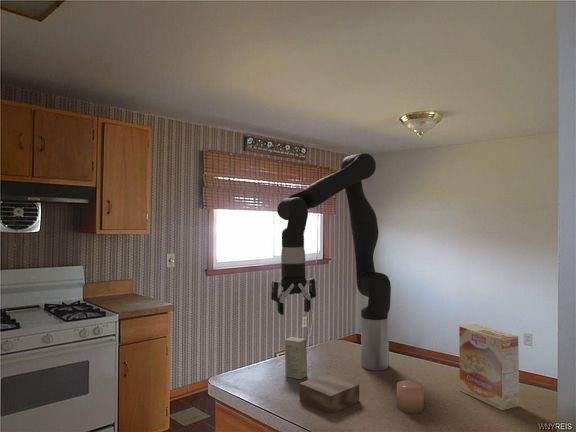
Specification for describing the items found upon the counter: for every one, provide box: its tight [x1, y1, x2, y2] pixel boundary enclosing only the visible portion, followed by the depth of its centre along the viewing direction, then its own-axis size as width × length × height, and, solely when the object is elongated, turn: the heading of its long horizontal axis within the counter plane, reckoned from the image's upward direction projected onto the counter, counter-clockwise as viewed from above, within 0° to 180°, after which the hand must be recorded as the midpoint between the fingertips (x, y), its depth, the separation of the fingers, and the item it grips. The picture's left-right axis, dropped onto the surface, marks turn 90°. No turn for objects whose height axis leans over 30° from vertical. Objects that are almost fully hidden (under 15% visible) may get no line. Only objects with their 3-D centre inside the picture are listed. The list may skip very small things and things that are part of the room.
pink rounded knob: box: [396, 380, 425, 414], centre depth 113 cm, size 7×7×6 cm
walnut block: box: [298, 372, 360, 415], centre depth 117 cm, size 12×12×5 cm
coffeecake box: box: [458, 323, 520, 411], centre depth 119 cm, size 15×7×20 cm, turn 23°
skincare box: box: [284, 336, 308, 380], centre depth 136 cm, size 6×4×12 cm
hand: (294, 313), depth 129 cm, fingers open, 8 cm apart
